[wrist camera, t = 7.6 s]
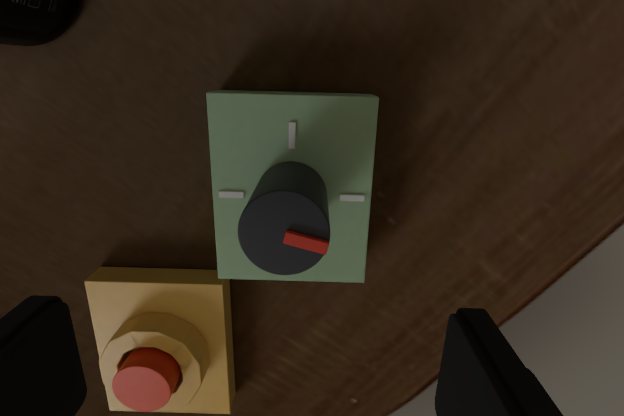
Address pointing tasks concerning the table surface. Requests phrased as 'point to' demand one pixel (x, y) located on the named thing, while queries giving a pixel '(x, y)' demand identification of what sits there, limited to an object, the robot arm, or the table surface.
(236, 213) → the dial panel
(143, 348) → the button
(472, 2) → the table surface
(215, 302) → the tan flat block
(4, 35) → the supplement bottle
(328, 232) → the lock dial
